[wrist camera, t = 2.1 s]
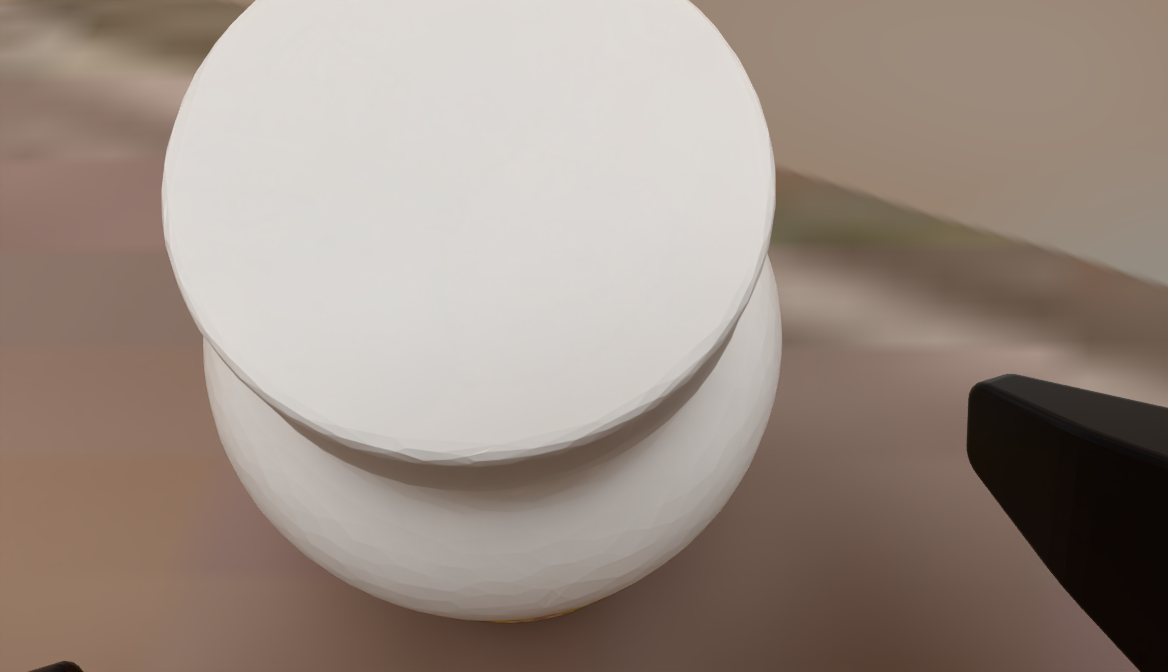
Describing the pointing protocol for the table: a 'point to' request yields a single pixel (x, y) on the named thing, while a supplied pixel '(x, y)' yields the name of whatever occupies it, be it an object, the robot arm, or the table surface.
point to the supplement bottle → (480, 287)
